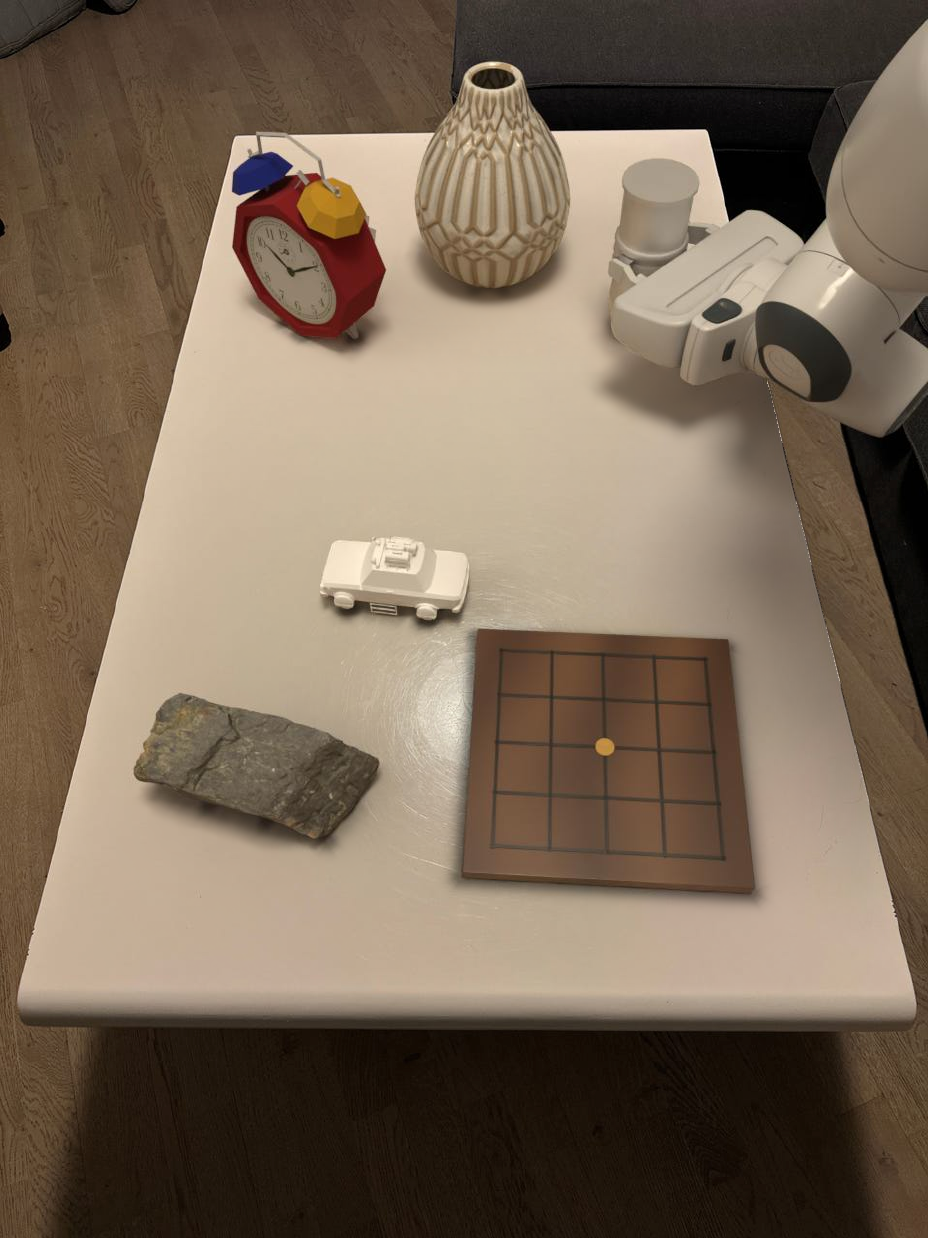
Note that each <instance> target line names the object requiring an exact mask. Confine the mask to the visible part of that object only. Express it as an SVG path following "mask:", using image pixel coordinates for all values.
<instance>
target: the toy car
mask: <svg viewBox="0 0 928 1238" xmlns="http://www.w3.org/2000/svg"><path fill="white" fill-rule="evenodd" d="M330 546H331V547H330V549H329V552H328V555H327V558H326V561H325V565H324V568H323V573H322V577H321V581H320V584H319V595H320V597H322V598H326V597H329V596H331V597H333V598H334V599H333V604H334V605H335V607H338V608H339V607H340V608H342V609H344V610H349V609H353V607H354V605H355V601H358V602H366V603H367V602H368V603H369V605H370V606H369V607H370V612H371V613H377V614H385V615H393V616H398V608H397V606H400V607H401V606H402V607H410V608H414V609H416V616H417V617H418V618H419V619H421V618H422V619H423V620H425V621H432V620H433V621H434V620H435V619H436V618H437V614H438V611H439V610H440V609H444V610H451V612H452V613H456V614H459V613H460V612H461V610H462V608H463V605H464V603H465V599H466V595H467V592H468V588H469V587H468V586H469V581H470V580H469V578H470V565H469V559H468V556H467V555H466V554H465V552H459V551H451V550H441V549H434V548H432V547H431V546H429V545H428V544H426V543H424V542H423V541H422V542H421V541H416V540H415V539H414V538H412V537H411V538H410V537H403V536H401V537H400V536H395V535H393V536H390V537H389V538H388V537H379V538H377V536H376V535H374V536H372V538H371V542H369V541H358V540H357V541H356V540H344V539H338V540H337V539H336V540H335V541H334V542H332V543H331V545H330ZM372 605H373V606H372ZM376 606H377V607H376ZM378 606H381V607H378ZM384 607H386V608H384ZM387 607H388V608H387ZM389 607H390V608H389ZM392 608H394V609H392ZM376 610H381V611H376ZM385 611H388V612H385ZM389 611H390V612H389ZM394 612H395V613H394Z"/></svg>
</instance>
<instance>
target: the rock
mask: <svg viewBox="0 0 928 1238" xmlns="http://www.w3.org/2000/svg"><path fill="white" fill-rule="evenodd" d="M149 733H150V734H149V736H148V737H147V738H146V739H145V740H144V741H143V743H142V747H143V750H144V751H143V752H141V753H140V754H139V757H138V758H137V760H136V761H135V765H134V766H133V776H134V777H135V779H136V780H137V781H138V782H142V783H146V784H147V783H148V784H155V785H159V786H165V787H168V788H170V789H172V790H173V791H175V792H177V793H178V794H180V795H183V796H186V797H188V798H191V799H195V800H198V801H200V802H203V803H210V804H211V805H215V806H221V807H225V808H228V809H231V810H233V811H236V812H240V813H245V814H248V815H254V816H259V817H261V818H264V819H268V820H270V821H273V822H276V823H279V824H282V825H283V826H285V827H288V828H290V829H292V830H294V831H296V832H297V833H299V834H302V835H305V836H308V837H310V838H311V839H317V838H319V837H323V836H328V835H329V834H330V833H331V832H332V831H333V830H334V829H335V828H336V827H337V826H338V824H339V823H340V822H341V821H342V820H343V818H345V817H346V816H347V814H348V813H349V812H350V811H351V810H352V809H353V808H354V807H355V805H356V803H357V801H358V799H359V797H360V796H361V794H362V793H363V791H364V790H365V789H366V787H367V786H369V784H370V783H371V781H372V780H373V779H374V777H375V776H376V774H377V771H378V769H379V767H380V760H379V758H378V757H376V756H374V755H372V754H370V753H368V752H366V751H362V750H360V749H359V748H358V747H356V746H353V745H349V744H346V743H344V741H343V740H341V739H339V738H336V737H335V736H333V735H331V734H330V733H329V732H325V731H322V730H321V729H318V728H315V727H311V726H309V725H305V724H302V723H301V724H300V723H296V722H294V721H292V720H290V719H289V718H286V717H283V716H281V715H275V714H269V713H263V712H259V711H254V710H248V709H246V708H241V707H235V706H228V705H224V704H218V703H215V702H210V701H208V700H206V699H205V698H200V697H198V696H196V695H192V694H187V693H183V692H179V693H177V694H175V695H173V696H171V697H169V698H168V699H166V700H165V701H164V702H163V703H162V704H161V705H160V706H159V709H158V710H157V711H156V712H155V719H154V722H153V724H152V728H151V729H150V731H149Z"/></svg>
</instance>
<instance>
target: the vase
mask: <svg viewBox="0 0 928 1238" xmlns="http://www.w3.org/2000/svg"><path fill="white" fill-rule="evenodd" d="M416 178H417V179H416V184H415V192H414V210H415V211H414V212H415V217H416V222H417V226H418V230H419V233H420V236H421V238H422V241H423V243H424V245H425V247H426V249H427V251H428V252H429V254H430V256H431V257H432V258H433V260H434V261H435V262H436V263H437V264H438V266H439V267H440V268H441V269H442V270H443V271H445V272H446V273H447V274H449V275H450V276H451V277H453V278H455V279H456V280H458V281H461V282H463V283H465V284H467V285H470V286H473V287H478V288H482V289H499V288H506V287H509V286H512V285H516V284H518V283H521V282H523V281H526V280H527V279H529V278H530V277H532V276H534V274H536V273H537V272H538V271H540V270H542V268H544V267H545V265H546V264H547V263H548V261H549V260H551V258H552V256H553V255H554V254H555V252H556V250H557V249H558V247H559V245H560V243H561V241H562V239H563V237H564V234H565V231H566V229H567V228H566V227H567V225H568V219H569V216H570V208H571V189H570V181H569V176H568V171H567V167H566V163H565V160H564V157H563V154H562V151H561V148H560V146H559V144H558V142H557V140H556V138H555V136H554V135H553V133H552V131H551V130H550V128H549V126H548V125H547V123H546V121H545V120H544V118H543V117H542V116H541V114H540V113H539V112H538V110H537V109H536V107H534V105H533V103H532V102H531V99H530V96H529V93H528V89H527V86H526V81H525V79H524V75H523V73H522V72H521V70H520V69H518V68H517V67H516V66H514V65H512V64H510V63H507V62H501V61H486V62H485V61H484V62H480V63H477V64H476V65H473V66H471V67H470V68H469V69H468V70H466V72H465V73H464V75H463V78H462V81H461V85H460V88H459V93H458V95H457V98H456V100H455V103H454V104H453V106H452V108H451V109H450V110H449V111H448V113H447V114H446V115H445V117H444V118H443V120H441V122H440V123H439V125H438V127H437V129H436V130H435V132H434V133H433V135H432V137H431V138H430V140H429V143H428V145H427V147H426V148H425V152H424V154H423V156H422V160H421V163H420V166H419V170H418V174H417V177H416Z"/></svg>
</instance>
